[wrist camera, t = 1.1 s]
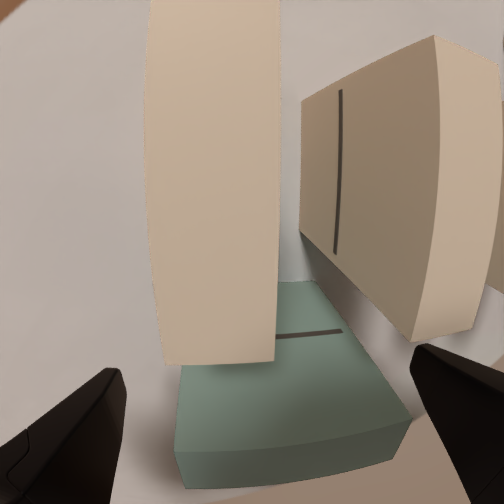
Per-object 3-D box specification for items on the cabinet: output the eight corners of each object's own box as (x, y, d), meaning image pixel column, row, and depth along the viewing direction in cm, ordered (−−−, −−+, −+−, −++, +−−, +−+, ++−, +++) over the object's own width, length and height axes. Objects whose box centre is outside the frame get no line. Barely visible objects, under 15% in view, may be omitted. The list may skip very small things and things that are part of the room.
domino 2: (192, 285, 13) (173, 450, 5) (314, 280, 13) (413, 417, 5) (195, 320, 13) (185, 488, 5) (311, 314, 14) (391, 459, 6)
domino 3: (341, 105, 11) (498, 64, 3) (337, 229, 12) (472, 328, 5) (300, 101, 11) (432, 34, 3) (298, 229, 12) (409, 343, 5)
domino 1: (237, 98, 11) (281, -2, 3) (237, 230, 12) (275, 360, 4) (192, 99, 10) (149, 0, 3) (194, 232, 12) (164, 365, 4)
